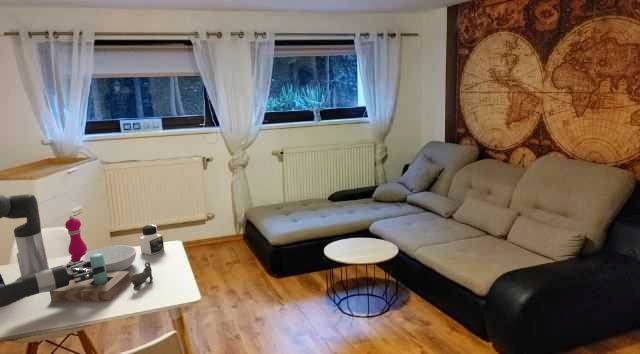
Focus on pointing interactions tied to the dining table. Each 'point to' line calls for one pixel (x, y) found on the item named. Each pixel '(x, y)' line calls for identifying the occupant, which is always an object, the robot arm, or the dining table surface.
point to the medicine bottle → (151, 240)
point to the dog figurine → (142, 277)
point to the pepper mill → (75, 239)
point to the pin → (99, 261)
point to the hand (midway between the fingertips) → (101, 265)
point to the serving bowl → (114, 257)
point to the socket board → (93, 288)
